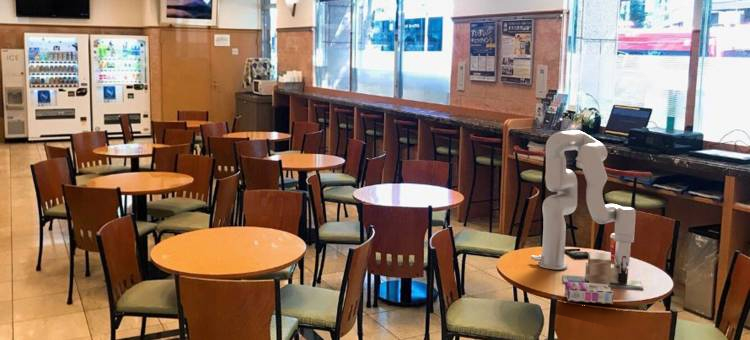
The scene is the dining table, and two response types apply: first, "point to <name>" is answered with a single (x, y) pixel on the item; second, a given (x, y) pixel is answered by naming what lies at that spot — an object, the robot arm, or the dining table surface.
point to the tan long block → (601, 273)
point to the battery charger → (576, 254)
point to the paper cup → (613, 247)
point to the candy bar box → (589, 292)
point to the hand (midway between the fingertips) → (621, 280)
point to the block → (613, 273)
